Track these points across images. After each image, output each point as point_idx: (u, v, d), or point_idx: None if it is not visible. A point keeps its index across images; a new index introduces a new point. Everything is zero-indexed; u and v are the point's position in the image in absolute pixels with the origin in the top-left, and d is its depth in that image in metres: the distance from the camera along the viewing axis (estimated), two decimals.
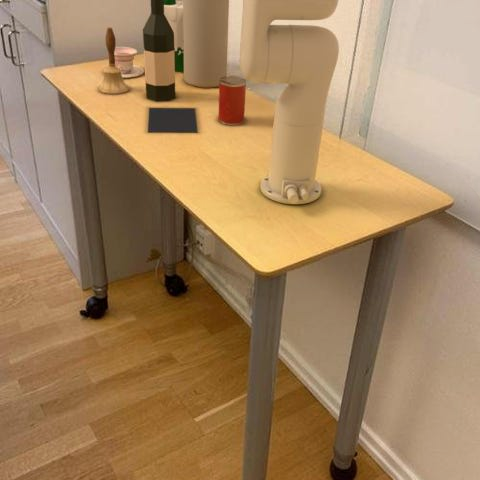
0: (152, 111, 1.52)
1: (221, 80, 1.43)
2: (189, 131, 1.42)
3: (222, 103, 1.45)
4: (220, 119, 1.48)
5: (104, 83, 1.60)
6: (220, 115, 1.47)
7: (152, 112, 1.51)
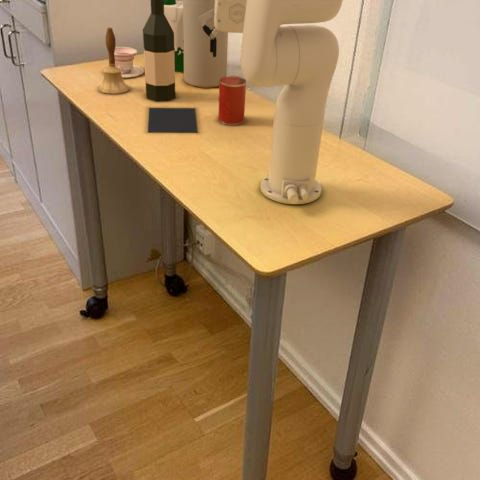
0: (152, 111, 1.52)
1: (221, 80, 1.43)
2: (189, 131, 1.42)
3: (222, 103, 1.45)
4: (220, 119, 1.48)
5: (104, 83, 1.60)
6: (220, 115, 1.47)
7: (152, 112, 1.51)
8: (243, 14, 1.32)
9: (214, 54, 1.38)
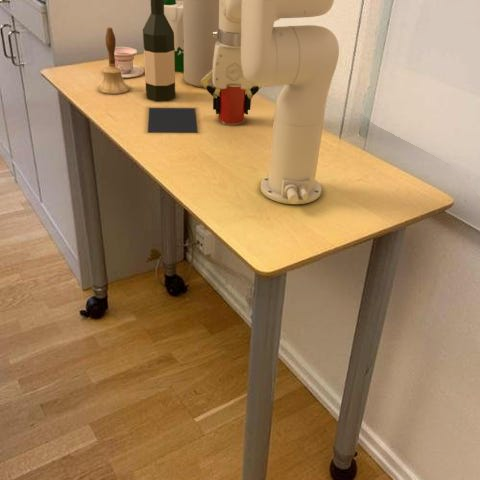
0: (152, 111, 1.52)
1: None
2: (189, 131, 1.42)
3: (222, 103, 1.45)
4: (220, 119, 1.48)
5: (104, 83, 1.60)
6: (220, 115, 1.47)
7: (152, 112, 1.51)
8: (240, 73, 1.40)
9: (217, 111, 1.46)
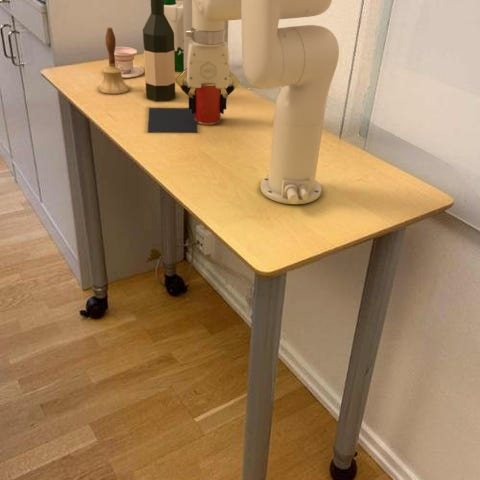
0: (152, 111, 1.52)
1: None
2: (189, 131, 1.42)
3: (197, 102, 1.44)
4: (196, 118, 1.47)
5: (104, 83, 1.60)
6: (196, 114, 1.46)
7: (152, 112, 1.51)
8: (214, 72, 1.39)
9: (192, 111, 1.45)
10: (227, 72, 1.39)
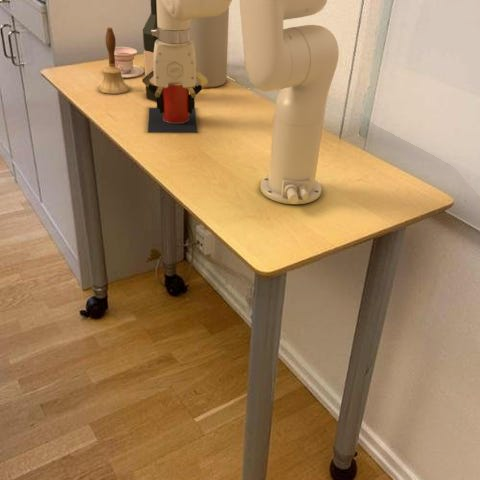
0: (152, 111, 1.52)
1: None
2: (189, 131, 1.42)
3: (164, 102, 1.43)
4: (164, 118, 1.46)
5: (104, 83, 1.60)
6: (164, 114, 1.45)
7: (152, 112, 1.51)
8: (180, 71, 1.38)
9: (160, 110, 1.45)
10: (194, 71, 1.39)
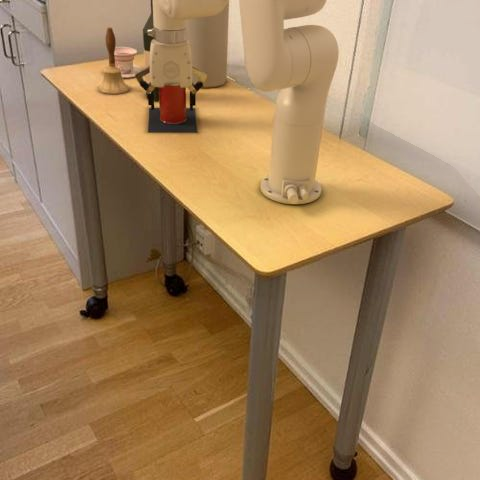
0: (152, 111, 1.52)
1: None
2: (189, 131, 1.42)
3: (161, 102, 1.43)
4: (161, 118, 1.46)
5: (104, 83, 1.60)
6: (161, 114, 1.45)
7: (152, 112, 1.51)
8: (177, 71, 1.38)
9: (152, 107, 1.44)
10: (190, 71, 1.39)
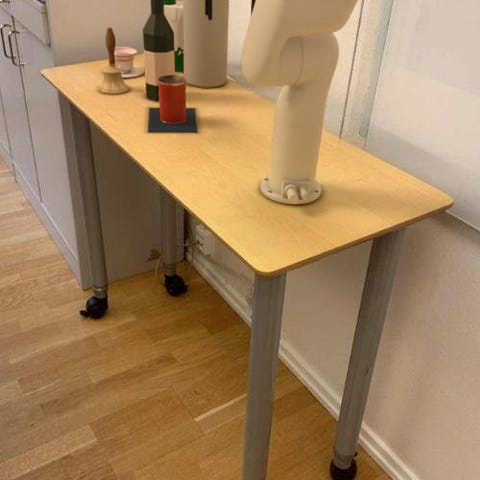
0: (152, 111, 1.52)
1: (160, 79, 1.41)
2: (189, 131, 1.42)
3: (161, 102, 1.43)
4: (161, 118, 1.46)
5: (104, 83, 1.60)
6: (161, 114, 1.45)
7: (152, 112, 1.51)
8: None
9: (210, 16, 1.26)
10: None
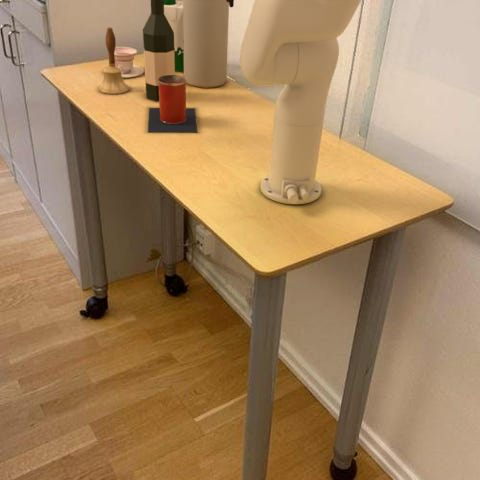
0: (152, 111, 1.52)
1: (160, 79, 1.41)
2: (189, 131, 1.42)
3: (161, 102, 1.43)
4: (161, 118, 1.46)
5: (104, 83, 1.60)
6: (161, 114, 1.45)
7: (152, 112, 1.51)
8: None
9: (231, 3, 1.24)
10: None
